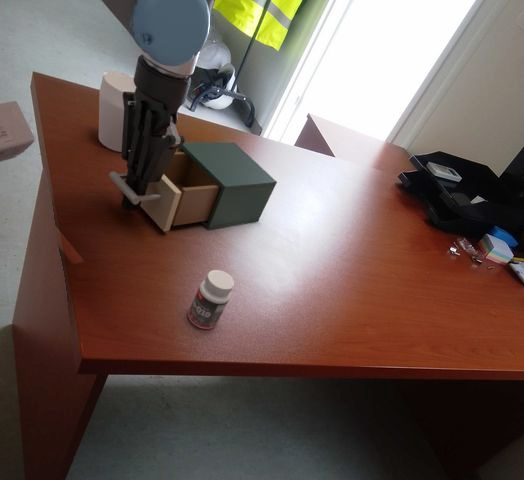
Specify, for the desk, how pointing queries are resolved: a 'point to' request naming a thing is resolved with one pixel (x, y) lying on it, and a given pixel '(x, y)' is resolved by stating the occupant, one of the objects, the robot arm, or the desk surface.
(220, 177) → the cabinet
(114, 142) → the cup
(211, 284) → the pill bottle
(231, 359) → the desk surface
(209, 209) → the drawer
